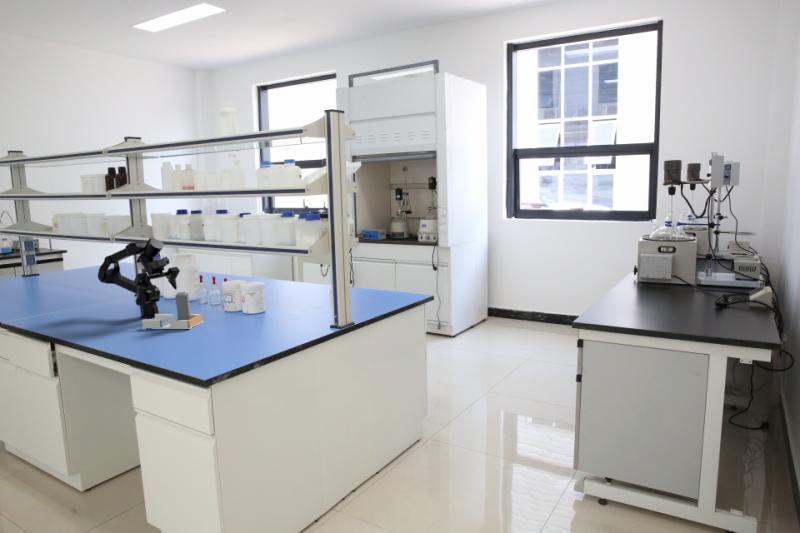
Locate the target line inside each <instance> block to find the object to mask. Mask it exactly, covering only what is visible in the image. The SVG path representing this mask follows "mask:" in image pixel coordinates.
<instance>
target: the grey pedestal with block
mask: <svg viewBox="0 0 800 533" xmlns="http://www.w3.org/2000/svg"><path fill="white" fill-rule="evenodd" d="M189 294H190V293H189V292H187V291H186V290H179V291H177V293H176V294H175V304H176V312H177V320H190V319H191V314H192V313H191V311H192V310H191V305H190V304H191V302H190V296H189Z"/></svg>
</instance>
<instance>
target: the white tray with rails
mask: <svg viewBox="0 0 800 533" xmlns="http://www.w3.org/2000/svg"><path fill="white" fill-rule="evenodd" d="M141 322H142V326H141V327H140V329H141V328H159V329H190V328H192V327H194V326H196V325H198V324H200V323H202V322H203V323H204V320H203V315H202V314H196V313H195V314H193V313H191V319H190V320H178V319H176V314H175V313H160V314H155V317H154V319H146V318H143V319H142V320H141ZM203 323H202V324H203ZM200 325H201V324H200ZM198 326H199V325H198ZM196 327H197V326H196ZM194 328H195V327H194Z"/></svg>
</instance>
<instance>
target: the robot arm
mask: <svg viewBox="0 0 800 533" xmlns="http://www.w3.org/2000/svg"><path fill="white" fill-rule="evenodd" d="M164 247H165V246H164V243H163V242H162V241H161V240H159V239H156V238H155V237H149V238H148V241H147V243H146V242H145V241H144V240H138V241H133V242H129V243H128V244H127V245H125V247H124V248H123V249H121V250H119V251H117V252H114V253H112V254H110V255H107V256H105V257H104V261H103V262H102V264H101V265H100V267H99V268H98V273H97V279H98V280H99V282H101V283H102V284H108V285H109V284H111V285H116V286H118V287H120V288H122V289H125V290H127V291H129V292H131V293H133V294H135V295H136V299H135V301H134V302H135V303H136V305H137V306H139V308H140V316H139V317H140V318H139V319H153V318H155V314H161V313H159V306H158V305H157V304H158V302H160V299H161V289H160V288H159V287H158V286H157V285H156V284H153V283H152V281H151V280H155V279H160V278H166V279H167V281H168V283H169V284H170V286H172V288H173V289H174V290H177V289H178V286H177V281H176V279H177V277H178V275H179V274H180V272H181V270H180V268H179V267H177V266H172V267H169V268H168V269H167V271H164V270H165V267H167V265H169V264H170V259H169V258H168V257H167V256H164V257H162V258H157V259H155V258H156V257H158V256H159V254H160V253H161V251H162V249H163V248H164ZM137 255H139V256H137ZM132 256H137V259H136V263H137V264H141V265H142V267H143V268H144V270H143V271H144V272H139V273H137V274H136V275H135V278H134V279H130V278H128V277H126V276H124V275H122V273H121V267H120V264H119V263H120V262H121V261H122V260H125V259H128V258H129V257H132ZM111 265H113V267H112V268H110V266H111ZM141 317H142V318H141ZM152 317H153V318H152Z"/></svg>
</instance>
